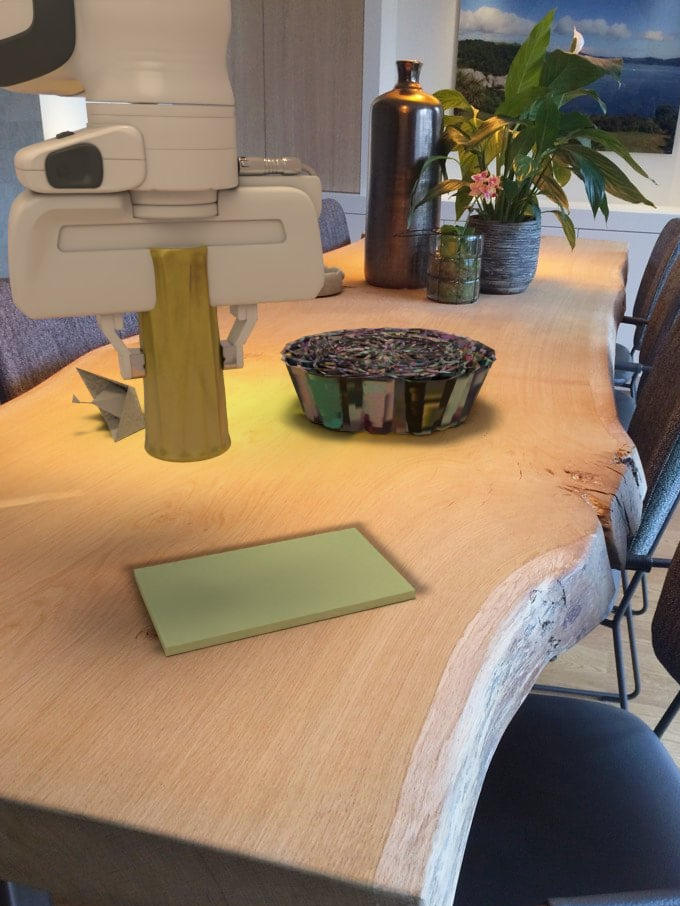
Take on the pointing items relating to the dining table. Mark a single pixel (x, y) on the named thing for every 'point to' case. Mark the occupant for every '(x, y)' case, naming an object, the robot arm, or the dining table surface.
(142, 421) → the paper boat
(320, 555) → the mat
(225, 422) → the vase
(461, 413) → the decorative bowl
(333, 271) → the dish
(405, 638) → the dining table surface
